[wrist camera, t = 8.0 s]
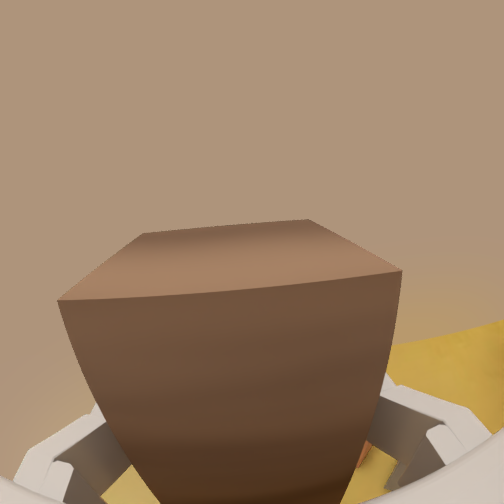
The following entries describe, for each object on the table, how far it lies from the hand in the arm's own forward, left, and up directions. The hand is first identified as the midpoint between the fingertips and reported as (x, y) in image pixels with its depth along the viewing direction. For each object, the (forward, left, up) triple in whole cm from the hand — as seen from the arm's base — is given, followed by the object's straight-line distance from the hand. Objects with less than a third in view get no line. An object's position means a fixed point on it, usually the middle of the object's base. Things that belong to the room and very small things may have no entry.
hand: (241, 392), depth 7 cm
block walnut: (-1, +1, -6) cm, 6 cm away
